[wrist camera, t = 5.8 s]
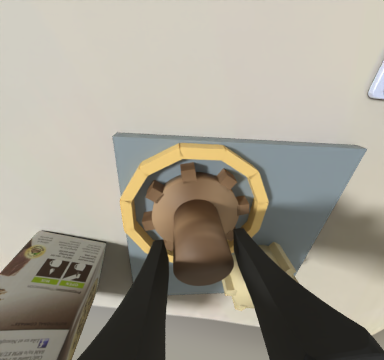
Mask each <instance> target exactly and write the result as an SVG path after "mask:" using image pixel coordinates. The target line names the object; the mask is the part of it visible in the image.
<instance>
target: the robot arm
mask: <svg viewBox="0 0 384 360" xmlns="http://www.w3.org/2000/svg"><path fill="white" fill-rule="evenodd" d="M383 91H384V61H383V63H382V65H381V67H380V69H379V71H378V73H377V75H376V77H375V79H374V81H373V83H372V85H371V87H370V89H369V92H368V96H369V97H370V98H376V99H384V92H383ZM233 241H234V253H235V257H236V260H237V264H238V267H239V269H240V272H241V274H242V277H243V279H244V282H245V284H246V287H247V289H248V292H249V294H250V297H251V299H252V302H253V305H254V308H255V311H256V314H257V318H258V321H259V324H260V328H261V331H262V334H263V338H264V341H265V345H266V348H267V352H268V355H269V359H270V360H384V350H383V349H382V348H381V347H380V345H379V344H378V343H377V341H376V340H375V339H374V338H373V337H372V336H371V335H370V333H369V332H368V331H367V330H366V329H365V328H364V327H362V326H361V325H359V324H357V323H356V322H354V321H352V320H351V319H349V318H347V317H346V316H344V315H343V314H341V313H340V312H338V311H337V310H335V309H334V308H332V307H331V306H329V305H328V304H326V303H325V302H323V301H322V300H321V299H319V298H318V297H316V296H315V295H314V294H312V293H311V292H310V291H308V290H307V289H305V288H304V287H303V286H302V285H300V284H299V283H298V282H297V281H295V280H294V279H293V278H292V277H290V276H289V275H288V274H287V273H286V272H285V271H284V270H282V269H281V268H280V267H279V266H278V265H277V264H276V263H275V262H274V261H273V260H272V259H271V258H270V257H269V256H268V255H267V254H266V253H265V252H264V251H263V250H262V249H261V248H260V247H259V246H258V245H257V244H256V243H255V241H254V240H253V239H252V238H251V237H250V236H249V234H248V233H247V232H246V231H245V229H244V228H237V229H233ZM168 283H169V258H168V254H167V251H166V247H165V243H164V240H163V239H161V240H155V241H153V243H152V246H151V248H150V251H149V253H148V255H147V257H146V259H145V262H144V264H143V266H142V268H141V270H140V272H139V274H138V275H137V277H136V279H135V281H134V283H133V284H132V286H131V288H130V289H129V291H128V293H127V294H126V296H125V298H124V299H123V301H122V302H121V304H120V305H119V307H118V308H117V310H116V311H115V312H114V314H113V315H112V317H111V318H110V319H109V321H108V322H107V324H106V325H105V326H104V327H103V329H102V330H101V331H100V333H99V334H98V335H97V336H96V338H95V339H94V340H93V341H92V343H91V344H90V345H89V346H88V347H87V349H86V350H85V351H84V352H83V353H82V354H81V356H80V357H79V358H78V359H77V360H165V319H166V305H167V294H168Z"/></svg>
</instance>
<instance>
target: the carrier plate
mask: <svg viewBox="0 0 384 360" xmlns="http://www.w3.org/2000/svg"><path fill="white" fill-rule="evenodd" d="M113 143H114V151H115V158H116V165H117V172H118V179H119V186H120V193H121V198H120V206H121V213H122V220H123V227H124V231H125V233H126V236H127V243H128V250H129V257H130V264H131V271H132V278H133V283H134V281H135V279H136V277H137V275H138V274H139V272H140V270H141V268H142V266H143V264H144V262H145V259H146V257H147V255H148V253H149V251H150V248H151V246H152V243H153V241H155V240H161V239H163V238H162V237H161V236H160V235H159V234H158V233H157V231H156V230H155V229H154V230H148V231H145V229H144V227H143V224H142V218H143V214H144V212H148V211H152V210H153V205H154V202H153V201H151V200H149V199H147V198H145V197H146V193H147V189H148V188H149V186H150V185H151V183H152V182H153V181H154V180H156V181H158V182H159V183H161V184H163V185H164V184H165V183H166V182H168V181H169V180H171V179H172V178H174V177H176V176H178V175H181V168H180V164H185V163H191V162H194V166H195V172H204V173H209V174H213V175H215V176H217V175H218V174H219V173H220V171H221V170H222V169H223V168H224V169H226V170H227V171H228V172H230V173H231V174H233V176H234V177H235V179H236V181H237V183H236V184H235V185H234V186H233V187H232V188H231V189H232V191H233V193H234V195H235V197H238V196H245V197H246V199H247V201H248V203H249V214H244V215H239V218H238V221H237V223H236V225H235V227H236V229H237V228H244V229H245V231H246V232H247V233H248V234H249V236H250V237H251V238H252V239H253V240H254V241H255V243H256V244H257V245H258V246H259V247H260V248H261V249H262V250H263V251H264V252H265V253H266V254H267V255H268V256H269V257H270V258H271V259H272V260H273V261H274V262H275V263H276V264H277V265H278V266H279V267H280V268H281V269H282V270H284V271H285V272H286V273H287V274H288V275H289V276H290V277H292V278H293V279H294V280H295V281H297V279H296V278H295V275H296V273H297V272H298V270H299V268H300V266H301V264H302V263H303V261H304V259H305V257H306V256H307V254H308V252H309V250H310V249H311V247H312V245H313V243H314V242H315V240H316V238H317V236H318V235H319V233H320V231H321V229H322V228H323V226H324V224H325V222H326V221H327V219H328V217H329V215H330V214H331V212H332V210H333V208H334V207H335V205H336V203H337V201H338V200H339V198H340V196H341V194H342V193H343V191H344V189H345V187H346V185H347V184H348V182H349V180H350V178H351V177H352V175H353V173H354V171H355V170H356V168H357V166H358V164H359V163H360V161H361V159H362V157H363V156H364V154H365V152H366V150H367V149H365V148H362V147H360V146H357V145H344V144H325V143H306V142H286V141H267V140H248V139H229V138H210V137H190V136H171V135H152V134H133V133H116V134H115V135H114V136H113ZM227 241H228V244H229V247H230V251H231V254H232V257H233V260H234V267H233V270H232V271H231V273H230V274H229V275H228V276H227V277H226V278H224V279H223V280H221V281H219V282H217V283H214V284H211V285H206V286H192V285H188V284H185V283H183V282H181V281H179V280H178V279H177V278H176V277H175V275H174V273H173V250H172V251H170V250H167V249H166V251H167V254H168V258H169V283H168V294H167V295H186V294H210V293H225V296H232V299H233V303H234V306H235V309H236V310H240V311H242V310H244V309H245V308H254V305H253V302H252V299H251V297H250V294H249V292H248V289H247V287H246V284H245V282H244V279H243V277H242V274H241V272H240V269H239V267H238V264H237V260H236V257H235V253H234V241H233V240H232V241H229V240H227ZM297 282H298V281H297Z"/></svg>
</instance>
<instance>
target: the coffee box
mask: <svg viewBox="0 0 384 360" xmlns="http://www.w3.org/2000/svg"><path fill="white" fill-rule="evenodd" d="M105 249H106V243H103V242H97V241H92V240H86V239H81V238H76V237H71V236H65V235H60V234H55V233H49V232H44V231H39V232H37V233H36V234H35V235H34V236H33V237H32V239H31V240H30V241H29V242H28V243H27V244H26V245H25V246H24V247H23V249H22V250H21V251H20V252H19V253H18V254H17V255H16V256H15V257H14V258H13V259H12V261H11V262H10V263H9V264H8V265H7V266H6V267H5V268H4V269H3V270H2V272H1V273H0V360H72V357H73V354H74V352H75V349H76V346H77V343H78V341H79V338H80V335H81V333H82V330H83V327H84V324H85V322H86V319H87V316H88V313H89V311H90V308H91V306H92V303H93V300H94V298H95V295H96V292H97V288H98V283H99V279H100V274H101V269H102V264H103V259H104V254H105Z"/></svg>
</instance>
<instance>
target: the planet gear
mask: <svg viewBox="0 0 384 360" xmlns="http://www.w3.org/2000/svg"><path fill="white" fill-rule="evenodd" d="M180 168H181V175H178V176H176V177H174V178H172V179H171V180H169V181H168V182H166V183H165V184H164V185H163V184H161V183H159V182H158V181H156V180H154V181H153V182H152V183H151V185H150V186H149V188H148V189H147V193H146V197H145V198H147V199H149V200H151V201H153V202H154V205H153V210H152V211H148V212H144V214H143V218H142V224H143V227H144V229H145V231H148V230H154V229H155V230H156V231H157V233H158V234H159V235H160V236H161V237H162V238H163V240H164V243H165V247H166V249H167V250H170V251H172V250H173V273H174V275H175V277H176V278H177V279H178V280H179V281H181V282H183V283H185V284H188V285H192V286H206V285H211V284H214V283H217V282H219V281H221V280H223V279H224V278H226V277H227V276H228V275H229V274H230V273H231V271H232V270H233V267H234V260H233V257H232V254H231V251H230V247H229V244H228V241H227V240H229V241H232V240H233V229H236V227H235V225H236V223H237V221H238V218H239V215H244V214H249V203H248V201H247V199H246V197H245V196H238V197H235V195H234V193H233V191H232V189H231V188H232V187H233V186H234V185H235V184H236V183H237V181H236V179H235V177H234V176H233V174H231V173H230V172H228V171H227V170H226V169H224V168H223V169H222V170H221V171H220V173H219V174H218V175H217V176H215V175H213V174H209V173H204V172H195V166H194V162H191V163H185V164H180Z"/></svg>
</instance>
